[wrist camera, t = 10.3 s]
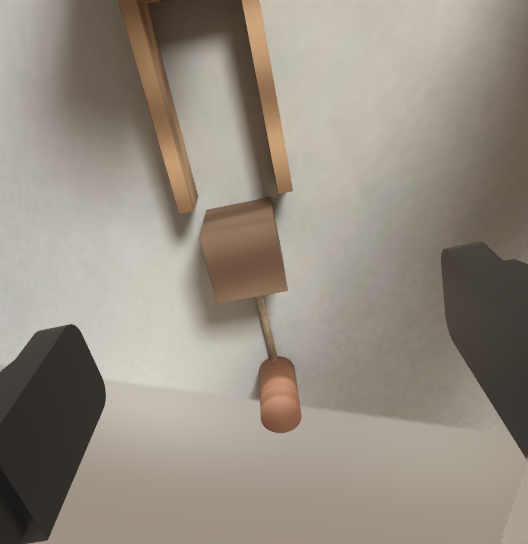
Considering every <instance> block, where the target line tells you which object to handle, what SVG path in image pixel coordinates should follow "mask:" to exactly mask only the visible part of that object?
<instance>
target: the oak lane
mask: <svg viewBox="0 0 528 544" xmlns="http://www.w3.org/2000/svg"><path fill="white" fill-rule="evenodd" d="M118 1H119V5H120V8H121V12H122V15H123V19H124V22H125V26H126V29H127V33H128V36H129V40H130V43H131V47H132V50H133V54H134V57H135V61H136V64H137V68H138V71H139V75H140V78H141V82H142V85H143V89H144V92H145V96H146V99H147V103H148V106H149V110H150V113H151V117H152V120H153V124H154V127H155V131H156V134H157V138H158V141H159V145H160V148H161V152H162V155H163V159H164V162H165V166H166V169H167V173H168V176H169V180H170V183H171V187H172V190H173V194H174V197H175V201H176V204H177V208H178V211H179V214H181V213H186V212H191V211H193V210H194V207H195V204H196V201H197V198H198V194H197V191H196V187H195V183H194V179H193V176H192V172H191V168H190V164H189V160H188V157H187V153H186V149H185V145H184V141H183V138H182V134H181V130H180V126H179V122H178V119H177V115H176V111H175V107H174V103H173V100H172V96H171V92H170V88H169V85H168V81H167V77H166V73H165V69H164V66H163V62H162V58H161V54H160V50H159V47H158V43H157V39H156V35H155V31H154V28H153V24H152V20H151V16H150V13H149V9H148V5H147V4H151V3H156V2H160V1H164V0H118ZM242 4H243V10H244V15H245V20H246V26H247V31H248V36H249V41H250V47H251V52H252V57H253V62H254V68H255V73H256V78H257V84H258V89H259V94H260V99H261V105H262V110H263V115H264V120H265V126H266V131H267V136H268V141H269V147H270V152H271V157H272V163H273V168H274V173H275V178H276V184H277V189H278V194H281V193H286V192H291V191H293V189H292V183H291V178H290V172H289V166H288V160H287V155H286V149H285V143H284V138H283V132H282V126H281V121H280V115H279V109H278V104H277V98H276V92H275V87H274V81H273V75H272V70H271V64H270V58H269V53H268V47H267V41H266V36H265V30H264V24H263V19H262V13H261V7H260V2H259V0H242Z"/></svg>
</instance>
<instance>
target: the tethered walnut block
mask: <svg viewBox="0 0 528 544" xmlns="http://www.w3.org/2000/svg"><path fill="white" fill-rule="evenodd" d="M199 239H200V243H201V247H202V250H203V254H204V258H205V261H206V265H207V268H208V272H209V276H210V279H211V283H212V287H213V290H214V294H215V297H216V301H217V304H220V303H226V302H231V301H236V300H241V299H247V298H252V297H256V299H257V303H258V308H259V312H260V316H261V320H262V325H263V329H264V333H265V337H266V342H267V346H268V350H269V354H270V358H269V359H267V360H265V361H264V362H263V363H262V365H261V366H260V370H259V373H260V405H261V421H262V424H263V425H264V427H265V428H267V429H268V430H270V431H272V432H276V433H285V432H288V431H291V430H293V429H295V428H296V427H297V426H298V425H299V423H300V421H301V411H300V403H299V396H298V389H297V381H296V374H295V368H294V365H293V363H292V362H291V361H290V360H288V359H287V358H284V357H279V356H277V354H276V350H275V346H274V341H273V337H272V332H271V328H270V324H269V319H268V315H267V311H266V306H265V302H264V297H263V295H268V294H273V293H278V292H284V291H288V289H287V283H286V276H285V270H284V263H283V257H282V252H281V247H280V242H279V237H278V232H277V227H276V222H275V217H274V212H273V207H272V202H271V197H269V198H264V199H259V200H254V201H249V202H244V203H239V204H234V205H229V206H224V207H219V208H214V209H210V210H206V214H205V218H204V222H203V226H202V230H201V234H200V238H199Z"/></svg>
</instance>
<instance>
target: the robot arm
mask: <svg viewBox="0 0 528 544" xmlns="http://www.w3.org/2000/svg"><path fill="white" fill-rule="evenodd" d="M441 263H442V276H443V290H444V303H445V315H446V321H447V326H448V329H449V333H450V335H451V338H452V340H453V342H454V344H455V346H456V347H457V349H458V350H459V352H460V354H461V355H462V357H463V358H464V360H465V362H466V363H467V365H468V366H469V368H470V370H471V371H472V373H473V374H474V376H475V378H476V379H477V381H478V382H479V384H480V386H481V387H482V389H483V390H484V392H485V394H486V395H487V397H488V398H489V400H490V402H491V403H492V405H493V406H494V408H495V410H496V411H497V413H498V414H499V416H500V418H501V419H502V421H503V422H504V424H505V426H506V427H507V429H508V430H509V432H510V434H511V435H512V437H513V438H514V440H515V441H516V443H517V445H518V446H519V448H520V450H521V451H522V453H523V454H524V456H525V457H526V459H527V461H526V465H525V467H524V471H523V474H522V477H521V480H520V483H519V486H518V489H517V493H516V496H515V499H514V502H513V505H512V508H511V511H510V515H509V518H508V521H507V524H506V527H505V530H504V534H503V537H502V540H501V543H500V544H528V264H526V263H523V262H520V261H518V260H515V259H512V260H507V261H503V260H502V259H501V258H499V257H498V256H497V255H496V254H495V253H494V252H493V251H492V250H491V249H490V248H489V247H488V246H487V245H486V244H484V243H483V242H476V243H471V244H466V245H461V246H456V247H451V248H447V249H444V250H443V251H442V256H441ZM105 399H106V392H105V385H104V381H103V379H102V376H101V374H100V372H99V370H98V368H97V366H96V363H95V361H94V359H93V357H92V355H91V353H90V350H89V348H88V346H87V344H86V342H85V340H84V338H83V335H82V333H81V332H80V330H79V329H78V328H77V327H76V326H75V325H72V324H70V325H65V326H60V327H55V328H50V329H45V330H41V331H38V332H36V333H35V334H34V336H33V337H32V338H31V339H30V341H29V342H28V343H27V345H26V346H25V347H24V349H23V350H22V351H21V353H20V354H19V355H18V357H17V358H16V359H15V360H14V361H13V362H12V363H10V364H9V365H8V366H7V367H6V368H4V369H3V370H2V371H1V372H0V544H27V543H34V542H40V541H46V540H48V538H49V536H50V533H51V531H52V529H53V526H54V524H55V522H56V519H57V517H58V515H59V512H60V510H61V507H62V505H63V503H64V500H65V498H66V496H67V493H68V491H69V489H70V486H71V484H72V481H73V479H74V477H75V475H76V472H77V470H78V467H79V465H80V462H81V460H82V458H83V456H84V453H85V451H86V449H87V446H88V444H89V442H90V439H91V437H92V434H93V432H94V430H95V427H96V425H97V423H98V420H99V418H100V416H101V413H102V411H103V408H104V405H105Z"/></svg>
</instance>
